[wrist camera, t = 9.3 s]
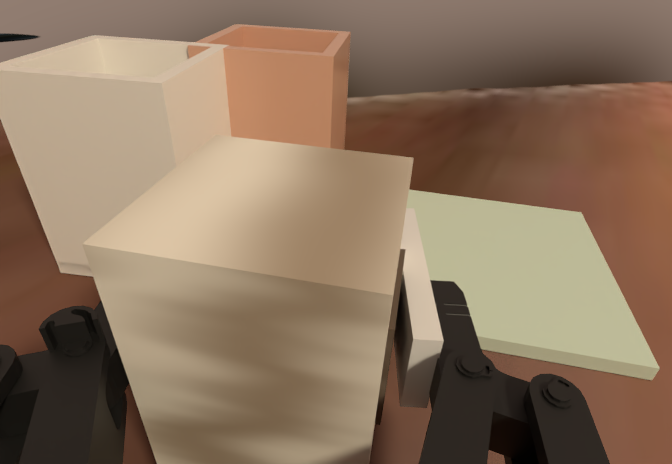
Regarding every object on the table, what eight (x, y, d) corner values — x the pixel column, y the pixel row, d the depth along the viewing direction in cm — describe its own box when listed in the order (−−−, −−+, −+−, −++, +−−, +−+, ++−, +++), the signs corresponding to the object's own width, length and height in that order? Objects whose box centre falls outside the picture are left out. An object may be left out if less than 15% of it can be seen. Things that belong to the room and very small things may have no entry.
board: (349, 325, 22) (350, 313, 22) (382, 195, 34) (383, 186, 33) (652, 380, 20) (659, 368, 20) (577, 222, 32) (581, 212, 31)
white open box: (60, 272, 25) (-20, 68, 19) (134, 202, 31) (93, 35, 25) (197, 289, 24) (161, 83, 18) (244, 214, 31) (228, 45, 24)
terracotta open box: (210, 219, 30) (187, 45, 24) (246, 169, 37) (235, 24, 30) (327, 232, 29) (333, 56, 23) (342, 178, 36) (350, 31, 30)
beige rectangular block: (175, 517, 15) (82, 243, 8) (244, 370, 20) (217, 133, 14) (359, 564, 14) (401, 296, 8) (382, 397, 19) (419, 156, 13)
